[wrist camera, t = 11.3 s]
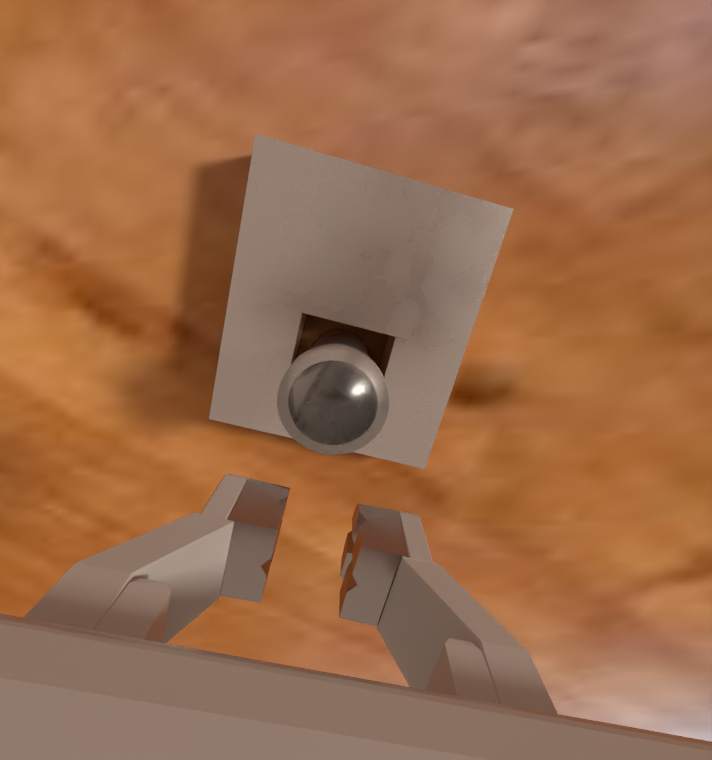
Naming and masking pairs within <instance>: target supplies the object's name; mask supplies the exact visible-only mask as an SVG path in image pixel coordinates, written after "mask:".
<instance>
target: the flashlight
mask: <svg viewBox="0 0 712 760" xmlns="http://www.w3.org/2000/svg"><path fill="white" fill-rule="evenodd" d="M277 408H278V413H279V417H280V420H281V422H282V424H283V426H284V428H285V429H286V431H287V432H288V433H289V435H290V436H291V437H292V438H293V439H294V440H295V441H296V442H298V443H299V444H300V445H302V446H303V447H305V448H307V449H309V450H311V451H314V452H317V453H321V454H327V455H340V454H346V453H350V452H353V451H356V450H358V449H360V448H362V447H364V446H365V445H367V444H368V443H370V442H371V441H372V440H373V439H374V438H375V437H376V436H377V435H378V433H379V432H380V431H381V429H382V427H383V426H384V424H385V421H386V418H387V415H388V411H389V395H388V390H387V386H386V383H385V380H384V377H383V375H382V373H381V371H380V369H379V368H378V366H377V365H376V363H375V362H374V361H373V360H372V359H371V358H370V357H369V354H368V350H367V347H366V345H365V344H364V342H363V341H362V340H361V339H360V338H359V337H358V336H357V335H355V334H354V333H352V332H349V331H345V330H333V331H329V332H327V333H325V334H323V335H322V336H320V337H319V338H318V339H317V340H316V341H315V343H314V344H313V346H312V348H311V349H310V350H308V351H306V352H304V353H303V354H301V355H300V356H299V357H298V358H297V359H296V360H295V361H294V362H293V363H292V364H291V366H290V367H289V369H288V370H287V372H286V373H285V375H284V377H283V378H282V381H281V383H280V386H279V389H278V395H277Z"/></svg>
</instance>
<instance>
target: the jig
mask: <svg viewBox="0 0 712 760" xmlns="http://www.w3.org/2000/svg"><path fill="white" fill-rule="evenodd" d="M512 212H513V209H512V208H508V207H505V206H502V205H498V204H495V203H491V202H488V201H484V200H481V199H478V198H474V197H471V196H467V195H464V194H461V193H457V192H454V191H450V190H447V189H443V188H440V187H437V186H433V185H430V184H426V183H423V182H419V181H416V180H413V179H409V178H406V177H402V176H399V175H396V174H392V173H389V172H385V171H382V170H378V169H375V168H372V167H368V166H365V165H361V164H358V163H354V162H351V161H348V160H344V159H341V158H337V157H334V156H330V155H327V154H324V153H320V152H317V151H313V150H310V149H307V148H303V147H300V146H296V145H293V144H289V143H286V142H283V141H279V140H276V139H272V138H269V137H265V136H262V135H259V134H255V139H254V145H253V151H252V157H251V163H250V169H249V175H248V182H247V188H246V194H245V200H244V206H243V212H242V218H241V224H240V231H239V237H238V243H237V249H236V255H235V261H234V267H233V273H232V280H231V286H230V292H229V298H228V304H227V310H226V316H225V322H224V329H223V335H222V341H221V347H220V353H219V359H218V365H217V371H216V378H215V384H214V390H213V396H212V402H211V408H210V414H209V419H210V420H215V421H219V422H224V423H228V424H232V425H237V426H241V427H245V428H250V429H254V430H258V431H263V432H267V433H271V434H276V435H280V436H285V437H289V438H292V437H291V436H290V435H289V433H288V432H287V431H286V429H285V428H284V426H283V424H282V422H281V420H280V417H279V413H278V408H277V395H278V389H279V386H280V383H281V381H282V378H283V377H284V375H285V373H286V372H287V370H288V369H289V367H290V366H291V364H292V363H293V362H294V361H295V360H296V359H297V355H298V351H299V346H300V342H301V337H302V332H303V328H304V323H305V319H306V314H309V315H313V316H317V317H321V318H325V319H329V320H332V321H336V322H340V323H344V324H348V325H352V326H356V327H360V328H364V329H368V330H371V331H375V332H379V333H383V334H387V335H389V338H388V341H387V345H386V348H385V352H384V355H383V359H382V362H381V366H380V371H381V373H382V375H383V377H384V380H385V383H386V386H387V390H388V395H389V411H388V415H387V418H386V421H385V424H384V426H383V427H382V429H381V431H380V432H379V433H378V435H377V436H376V437H375V438H374V439H373V440H372V441H371V442H370V443H368V444H367V445H365V446H364V447H362V448H360V449H358V450H356V451H353V452H354V453H359V454H363V455H367V456H372V457H376V458H380V459H385V460H389V461H394V462H398V463H402V464H407V465H411V466H415V467H420V468H424V469H425V466H426V464H427V461H428V458H429V455H430V452H431V449H432V446H433V443H434V440H435V437H436V434H437V431H438V429H439V426H440V423H441V420H442V417H443V414H444V411H445V408H446V405H447V402H448V399H449V396H450V393H451V391H452V388H453V385H454V382H455V379H456V376H457V373H458V370H459V367H460V364H461V361H462V358H463V355H464V353H465V350H466V347H467V344H468V341H469V338H470V335H471V332H472V329H473V326H474V323H475V320H476V317H477V315H478V312H479V309H480V306H481V303H482V300H483V297H484V294H485V291H486V288H487V285H488V282H489V279H490V277H491V274H492V271H493V268H494V265H495V262H496V259H497V256H498V253H499V250H500V247H501V244H502V242H503V239H504V236H505V233H506V230H507V227H508V224H509V221H510V218H511V215H512Z"/></svg>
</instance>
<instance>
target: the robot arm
mask: <svg viewBox="0 0 712 760" xmlns="http://www.w3.org/2000/svg"><path fill="white" fill-rule="evenodd" d="M289 490H290V488H288V487H284V486H279V485H275V484H271V483H267V482H263V481H259V480H254V479H250V478H249V479H248V478H247V477H242V476H237V475H232V474H226V475H225V476H224V477H223V479H222V480H221V482H220V483H219V485H218V486H217V488H216V490H215V491H214V493H213V494H212V496H211V498H210V499H209V501H208V502H207V504H206V505H205V507H204V509H203V510H202V512H201V513H200V514H198V513H192V514H189V515H187V516H185V517H182V518H180V519H178V520H175V521H173V522H171V523H168V524H166V525H164V526H161V527H159V528H157V529H154V530H152V531H150V532H147V533H145V534H143V535H140V536H138V537H136V538H133V539H131V540H129V541H126V542H124V543H122V544H119V545H117V546H115V547H112V548H110V549H108V550H105V551H103V552H100V553H98V554H96V555H93V556H91V557H89V558H86V559H84V560H82V561H79V562H77V563H75V564H74V565H73V566H72V567H71V568H70V569H69V570H68V572H67V573H66V574H65V575H64V576H63V577H62V578H61V579H60V580H59V581H58V582H57V583H56V584H55V585H54V586H53V587H52V588H51V589H50V590H49V591H48V592H47V593H46V595H45V596H44V597H43V598H42V599H41V600H40V601H39V602H38V603H37V604H36V605H35V606H34V607H33V608H32V609H31V610H30V611H29V612H28V613H27V614H26V615H25V616H24V617H23V618H22V617H17V616H11V615H6V614H0V760H712V742H710V741H704V740H698V739H693V738H687V737H682V736H676V735H671V734H665V733H660V732H654V731H649V730H643V729H638V728H632V727H627V726H621V725H616V724H610V723H604V722H599V721H593V720H587V719H582V718H576V717H570V716H564V715H559V714H557V711H556V709H555V707H554V705H553V703H552V701H551V699H550V696H549V694H548V692H547V690H546V688H545V686H544V684H543V681H542V679H541V677H540V675H539V673H538V671H537V669H536V666H535V664H534V662H533V660H532V658H531V656H530V654H529V652H528V651H527V650H526V649H525V648H524V647H523V646H522V645H521V644H520V643H519V642H518V641H517V640H516V639H515V638H514V637H513V636H512V635H511V634H510V633H509V632H508V631H507V630H506V629H505V628H504V627H503V626H502V625H501V624H500V623H499V622H498V621H497V620H496V619H495V618H494V617H493V616H492V615H491V614H490V613H489V612H488V611H487V610H486V609H485V608H484V607H483V606H482V605H481V604H480V603H479V602H477V601H476V600H475V599H474V598H473V597H472V596H471V595H470V594H469V593H468V592H467V591H466V590H465V589H464V588H463V587H462V586H461V585H460V584H459V583H458V582H457V581H456V580H455V579H454V578H453V577H452V576H451V575H450V574H449V573H448V572H447V571H446V570H445V569H444V568H443V567H442V566H441V565H440V564H437V563H433V560H432V557H431V553H430V550H429V546H428V543H427V540H426V536H425V533H424V529H423V526H422V522H421V519H420V517H419V516H418V515H417V514H411V513H406V512H400V511H394V510H389V509H383V508H378V507H373V506H368V505H362V504H357V506H356V508H355V511H354V514H353V517H352V531H351V532H349V533H348V534H347V538H346V542H345V545H344V550H343V555H342V561H341V575H340V576H341V577H342V579H343V583H342V586H341V590H340V606H339V618H343V619H347V620H351V621H356V622H360V623H365V624H369V625H374V626H378V628H377V629H378V631H379V632H380V634H381V636H382V638H383V640H384V641H385V643H386V645H387V647H388V649H389V650H390V652H391V654H392V656H393V658H394V659H395V661H396V663H397V665H398V666H399V668H400V670H401V672H402V674H403V675H404V677H405V679H406V681H407V683H408V684H409V686H410V687H405V686H400V685H394V684H389V683H383V682H378V681H372V680H367V679H361V678H356V677H350V676H344V675H339V674H333V673H328V672H322V671H316V670H311V669H305V668H300V667H294V666H289V665H283V664H277V663H272V662H266V661H261V660H255V659H250V658H244V657H238V656H233V655H227V654H222V653H216V652H211V651H205V650H199V649H194V648H188V647H183V646H177V645H172V644H166V643H167V642H168V641H169V640H170V639H171V638H173V637H174V636H175V635H176V634H177V633H179V632H180V631H181V630H182V629H183V628H184V627H186V626H187V625H188V624H189V623H190V622H192V621H193V620H194V619H195V618H196V617H198V616H199V615H200V614H201V613H202V612H203V611H205V610H206V609H207V608H208V607H209V606H211V605H212V604H213V603H214V602H215V601H216V600H218V599H219V596H223V597H229V598H236V599H242V600H248V601H254V602H261V598H262V595H263V591H264V588H265V584H266V581H267V577H268V573H269V569H270V565H271V562H272V559H273V555H274V552H275V548H276V544H277V540H278V536H279V532H280V528H281V524H282V518H283V514H284V511H285V507H286V503H287V499H288V494H289Z"/></svg>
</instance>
